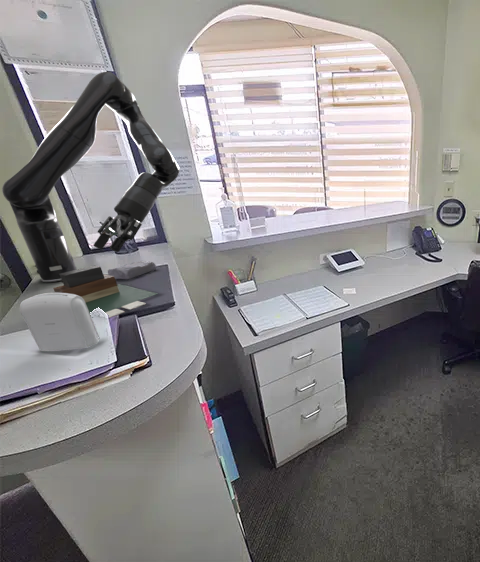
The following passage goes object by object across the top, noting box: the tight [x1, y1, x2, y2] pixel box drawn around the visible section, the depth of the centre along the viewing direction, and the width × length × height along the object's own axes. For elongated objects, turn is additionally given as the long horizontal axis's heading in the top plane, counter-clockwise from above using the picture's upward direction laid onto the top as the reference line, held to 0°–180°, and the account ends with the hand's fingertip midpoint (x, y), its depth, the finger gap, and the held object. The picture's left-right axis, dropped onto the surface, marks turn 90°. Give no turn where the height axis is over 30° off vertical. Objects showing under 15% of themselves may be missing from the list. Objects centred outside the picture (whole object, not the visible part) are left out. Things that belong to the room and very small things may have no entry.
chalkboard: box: [86, 283, 159, 313], centre depth 87 cm, size 20×20×1 cm
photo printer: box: [19, 292, 101, 352], centre depth 63 cm, size 10×4×12 cm, turn 96°
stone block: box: [107, 260, 157, 280], centre depth 109 cm, size 12×5×10 cm
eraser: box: [53, 265, 119, 303], centre depth 87 cm, size 5×12×8 cm, turn 155°
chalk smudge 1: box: [105, 308, 126, 319], centre depth 79 cm, size 4×4×1 cm
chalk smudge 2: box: [121, 301, 147, 311], centre depth 83 cm, size 4×4×1 cm
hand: (105, 249), depth 90 cm, fingers open, 8 cm apart
